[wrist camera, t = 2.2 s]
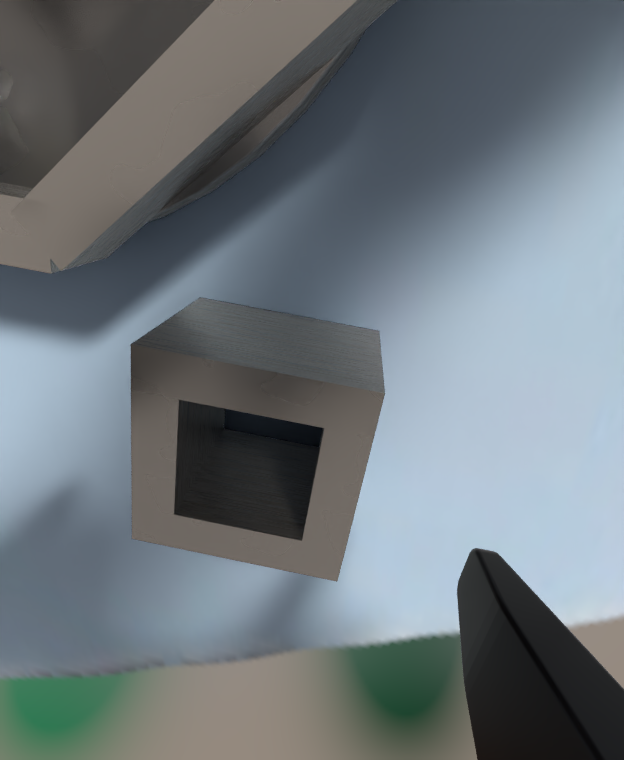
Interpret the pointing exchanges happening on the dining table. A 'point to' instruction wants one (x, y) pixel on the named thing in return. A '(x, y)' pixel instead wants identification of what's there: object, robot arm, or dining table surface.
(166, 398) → the square pipe segment
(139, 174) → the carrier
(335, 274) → the dining table surface
